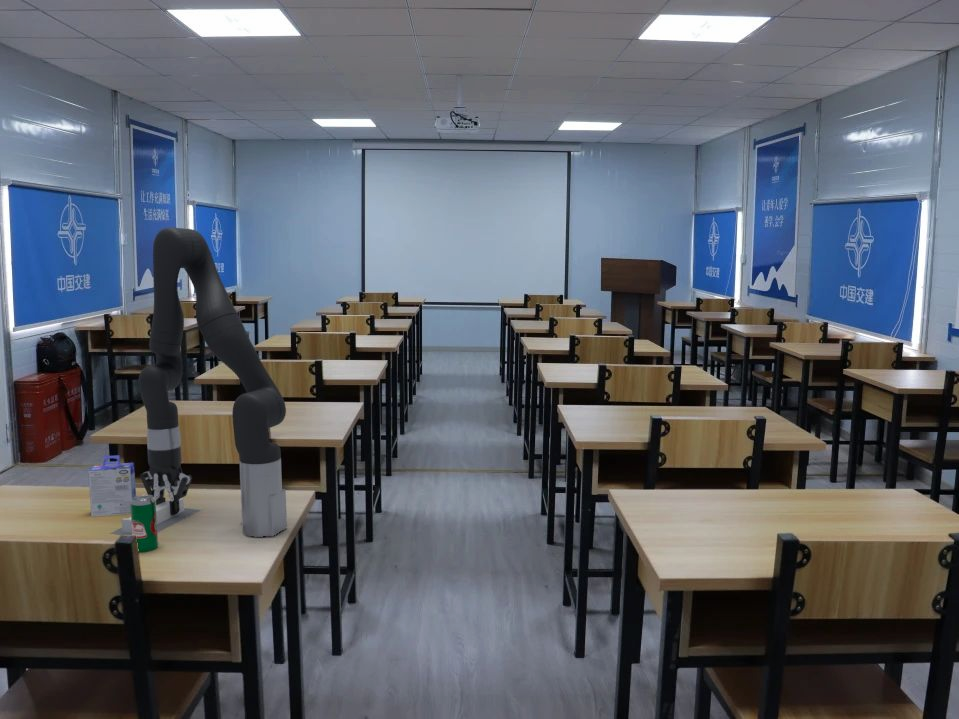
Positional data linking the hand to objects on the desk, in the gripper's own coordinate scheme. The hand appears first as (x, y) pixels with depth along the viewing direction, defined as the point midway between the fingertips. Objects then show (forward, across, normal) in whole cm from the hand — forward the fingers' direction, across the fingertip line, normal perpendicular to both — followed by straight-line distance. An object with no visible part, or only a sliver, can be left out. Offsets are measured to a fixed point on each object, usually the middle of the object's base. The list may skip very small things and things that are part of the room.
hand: (168, 513), depth 194 cm
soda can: (+1, -9, +19) cm, 21 cm away
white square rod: (+1, 0, +4) cm, 4 cm away
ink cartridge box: (+1, +15, +1) cm, 15 cm away
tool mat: (+1, 0, +4) cm, 4 cm away
